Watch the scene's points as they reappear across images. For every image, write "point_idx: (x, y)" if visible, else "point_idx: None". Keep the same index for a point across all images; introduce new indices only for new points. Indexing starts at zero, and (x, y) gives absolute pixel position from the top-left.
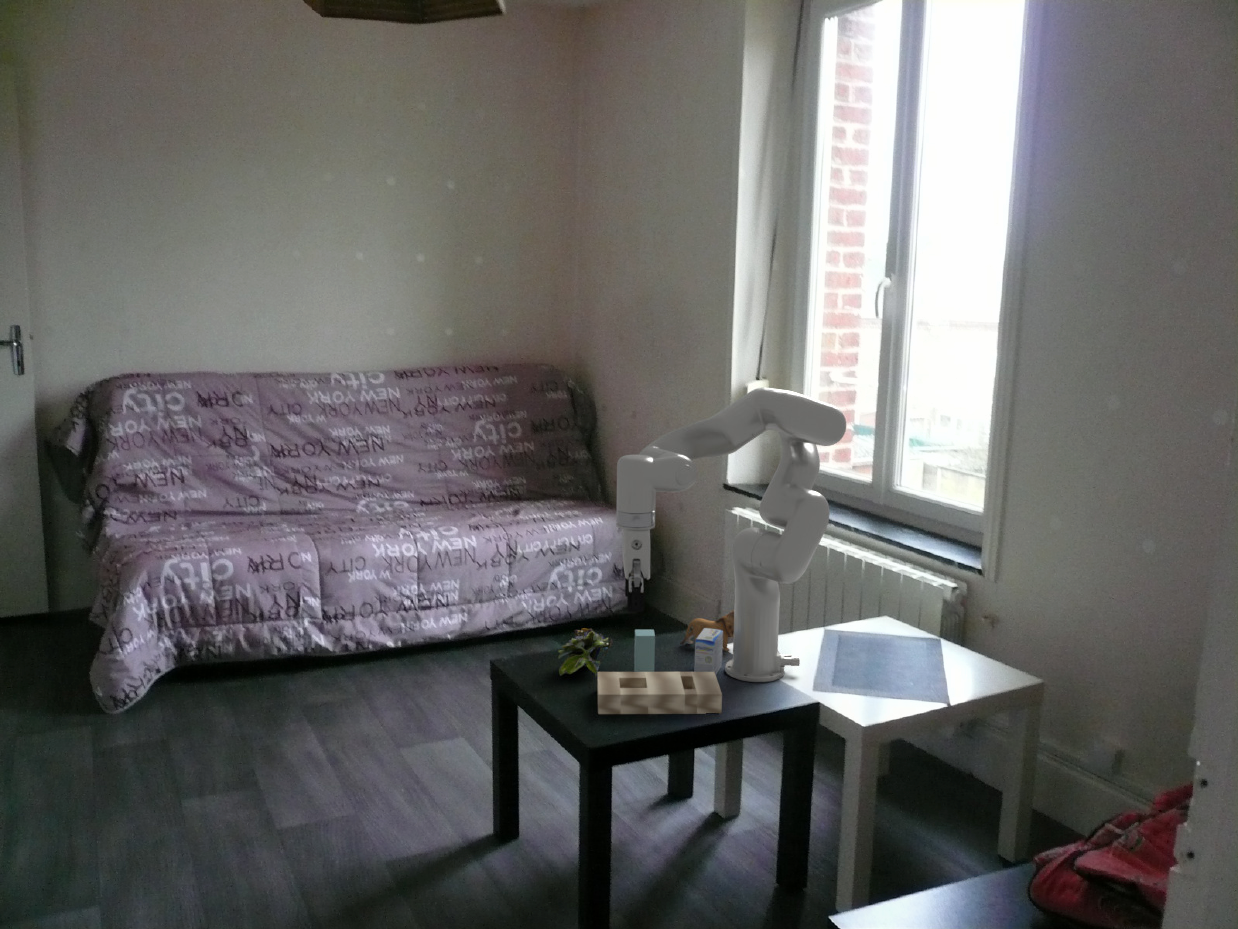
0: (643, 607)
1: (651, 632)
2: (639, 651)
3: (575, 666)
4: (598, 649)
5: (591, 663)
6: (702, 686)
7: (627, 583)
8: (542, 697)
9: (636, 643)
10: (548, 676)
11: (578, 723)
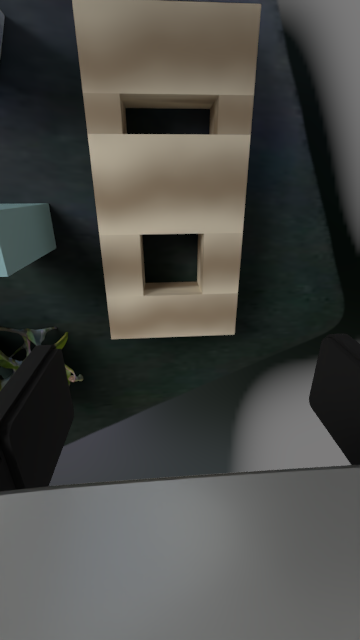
0: (358, 345)
1: None
2: (26, 253)
3: (82, 379)
4: None
5: None
6: (198, 68)
7: (49, 476)
8: (153, 401)
9: (18, 267)
10: None
11: (259, 346)
